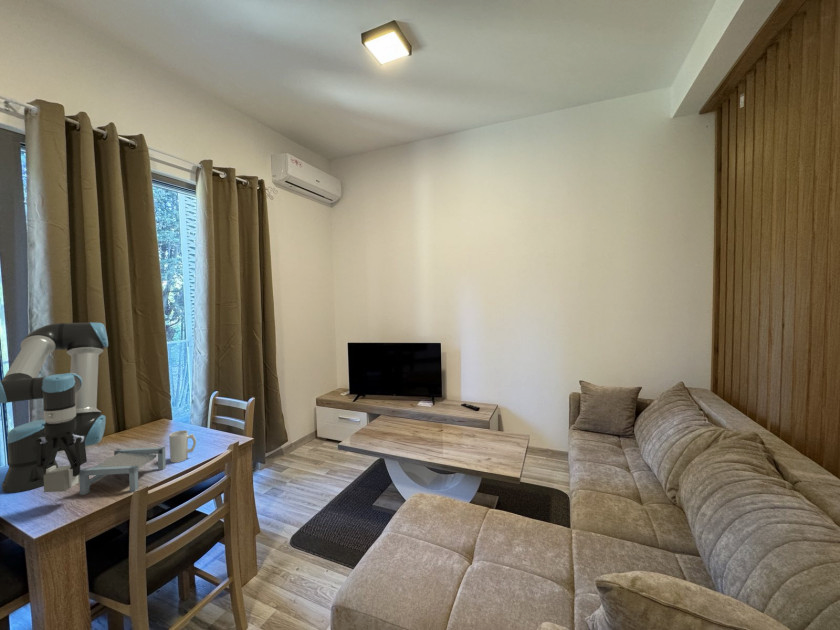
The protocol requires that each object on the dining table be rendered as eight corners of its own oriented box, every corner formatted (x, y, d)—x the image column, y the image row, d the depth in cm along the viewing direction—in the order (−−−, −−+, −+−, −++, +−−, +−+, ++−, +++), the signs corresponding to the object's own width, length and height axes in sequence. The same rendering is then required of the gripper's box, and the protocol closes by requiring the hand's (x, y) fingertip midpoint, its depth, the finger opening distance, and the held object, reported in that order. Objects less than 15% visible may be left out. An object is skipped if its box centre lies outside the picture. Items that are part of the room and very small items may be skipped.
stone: (44, 492, 113) (43, 474, 112) (60, 482, 119) (60, 466, 118) (64, 491, 113) (63, 474, 113) (79, 481, 119) (79, 465, 119)
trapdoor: (90, 471, 125) (90, 468, 125) (119, 454, 138) (119, 452, 138) (131, 473, 126) (132, 471, 126) (156, 457, 140) (156, 454, 140)
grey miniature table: (79, 494, 122) (79, 470, 122) (118, 470, 141) (117, 449, 140) (135, 491, 125) (134, 467, 125) (165, 467, 143) (165, 446, 143)
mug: (167, 464, 146) (166, 436, 146) (172, 457, 153) (172, 431, 152) (193, 460, 150) (193, 434, 149) (198, 454, 156) (198, 428, 156)
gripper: (16, 424, 110) (20, 493, 111) (81, 423, 112) (84, 490, 114) (39, 416, 117) (42, 480, 119) (100, 415, 120) (102, 478, 121)
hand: (62, 485), depth 116 cm, fingers closed on stone, 6 cm apart
